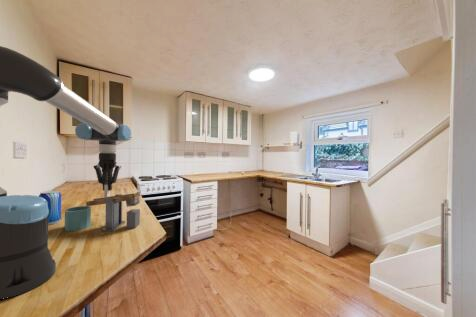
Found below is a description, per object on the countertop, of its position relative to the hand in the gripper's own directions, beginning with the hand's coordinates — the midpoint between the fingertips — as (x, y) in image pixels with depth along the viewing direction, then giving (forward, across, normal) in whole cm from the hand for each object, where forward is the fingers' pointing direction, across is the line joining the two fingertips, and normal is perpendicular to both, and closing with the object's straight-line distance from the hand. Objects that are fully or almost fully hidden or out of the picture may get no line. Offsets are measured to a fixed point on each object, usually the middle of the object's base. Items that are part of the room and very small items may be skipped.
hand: (107, 196), depth 100 cm
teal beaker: (+13, +8, +9) cm, 18 cm away
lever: (+3, -9, +5) cm, 11 cm away
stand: (+13, -8, +9) cm, 18 cm away
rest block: (+13, -18, +9) cm, 24 cm away
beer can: (+13, +26, +3) cm, 29 cm away
